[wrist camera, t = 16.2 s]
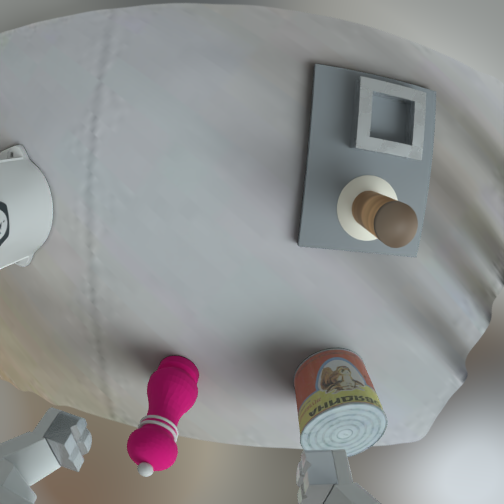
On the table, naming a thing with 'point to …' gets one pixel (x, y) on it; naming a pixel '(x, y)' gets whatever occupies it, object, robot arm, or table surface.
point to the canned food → (337, 403)
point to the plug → (385, 218)
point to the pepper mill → (163, 414)
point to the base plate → (358, 165)
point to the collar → (363, 111)
